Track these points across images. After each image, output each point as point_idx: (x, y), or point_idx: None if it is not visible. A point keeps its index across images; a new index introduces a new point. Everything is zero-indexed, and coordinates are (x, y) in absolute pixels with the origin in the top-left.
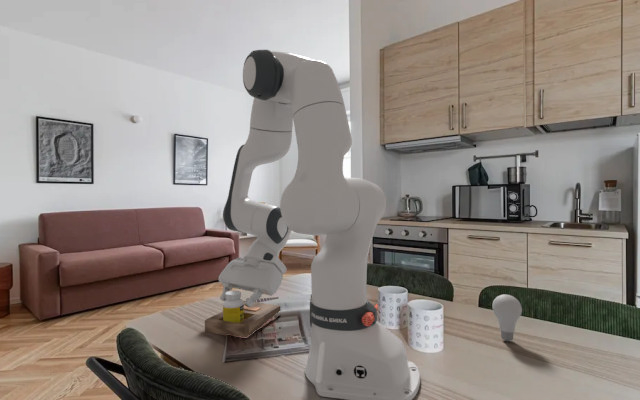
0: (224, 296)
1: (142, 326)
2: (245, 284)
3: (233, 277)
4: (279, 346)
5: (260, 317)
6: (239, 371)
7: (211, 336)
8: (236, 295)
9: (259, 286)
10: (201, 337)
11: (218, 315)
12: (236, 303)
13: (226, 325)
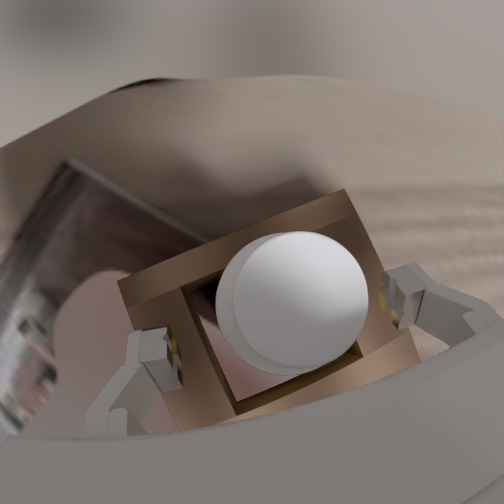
0: (393, 280)
1: (471, 112)
2: (251, 423)
3: (490, 380)
4: (19, 335)
5: (171, 407)
6: (11, 173)
7: (265, 204)
8: (233, 296)
9: (53, 446)
10: (284, 175)
11: (360, 263)
12: (223, 293)
13: (220, 238)
